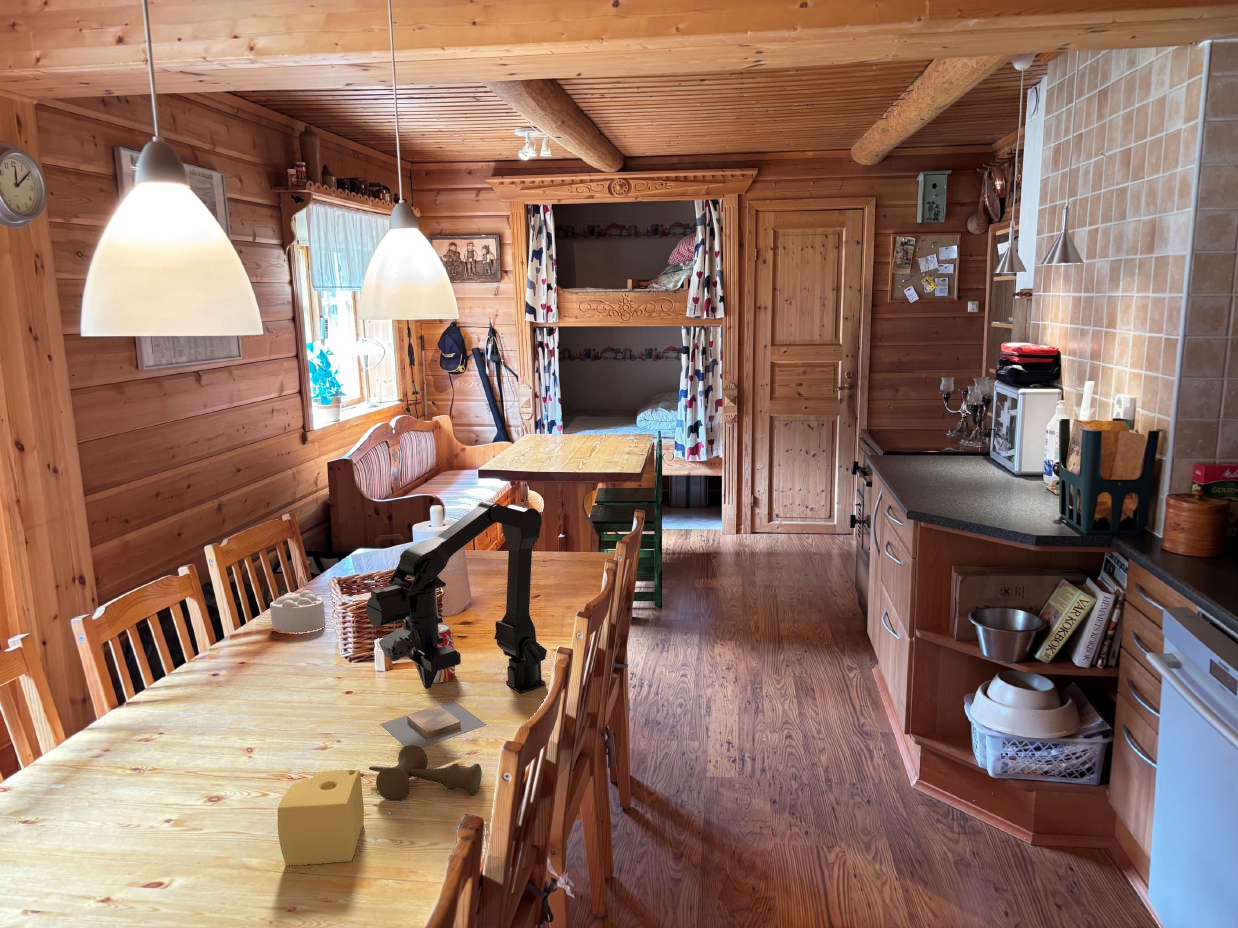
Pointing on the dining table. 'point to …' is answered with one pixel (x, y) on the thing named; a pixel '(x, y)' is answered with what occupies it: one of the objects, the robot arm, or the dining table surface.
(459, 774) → the kendama
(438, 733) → the tile
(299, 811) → the cheese
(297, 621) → the lumpy-topped squat cylinder
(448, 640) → the soda can
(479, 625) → the dining table surface
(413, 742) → the mat
